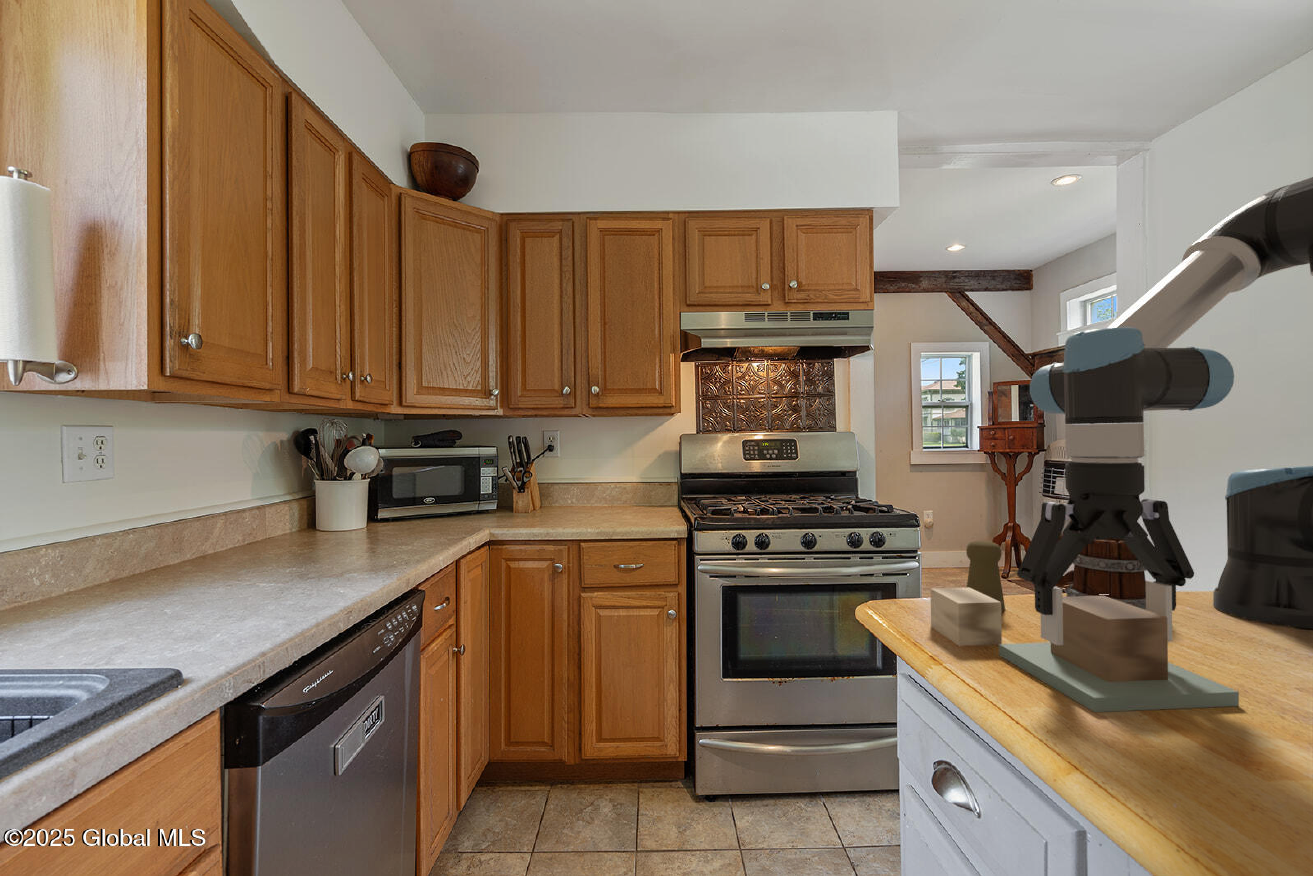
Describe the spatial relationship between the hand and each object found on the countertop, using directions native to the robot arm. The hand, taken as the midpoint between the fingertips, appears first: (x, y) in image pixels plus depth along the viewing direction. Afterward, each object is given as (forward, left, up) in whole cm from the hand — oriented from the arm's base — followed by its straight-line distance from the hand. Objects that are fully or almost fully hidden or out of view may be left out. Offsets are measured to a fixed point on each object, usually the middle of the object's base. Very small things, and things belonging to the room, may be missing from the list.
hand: (1105, 639), depth 71 cm
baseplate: (0, 0, -5) cm, 5 cm away
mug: (-21, -27, -5) cm, 35 cm away
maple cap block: (+8, -16, -5) cm, 19 cm away
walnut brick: (0, 0, -3) cm, 3 cm away
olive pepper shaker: (-3, -29, -5) cm, 30 cm away
